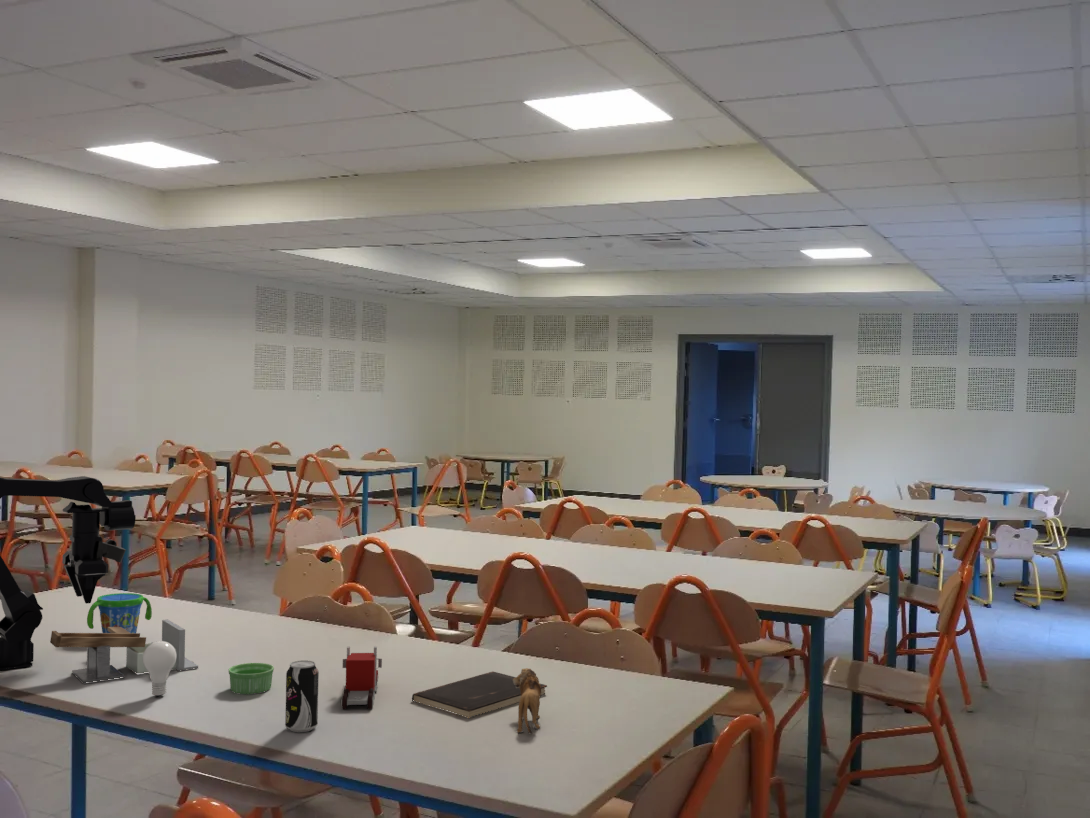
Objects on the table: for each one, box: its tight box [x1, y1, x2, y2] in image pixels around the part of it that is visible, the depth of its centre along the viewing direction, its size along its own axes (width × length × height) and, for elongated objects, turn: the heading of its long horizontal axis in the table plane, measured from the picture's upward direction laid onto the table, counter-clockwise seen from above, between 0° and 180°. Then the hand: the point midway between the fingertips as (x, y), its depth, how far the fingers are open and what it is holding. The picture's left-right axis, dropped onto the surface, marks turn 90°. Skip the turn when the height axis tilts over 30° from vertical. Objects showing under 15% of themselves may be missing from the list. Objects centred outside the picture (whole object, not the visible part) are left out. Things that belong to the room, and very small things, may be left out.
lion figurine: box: [513, 667, 542, 735], centre depth 190 cm, size 15×5×9 cm, turn 6°
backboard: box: [161, 619, 199, 672], centre depth 226 cm, size 4×12×9 cm, turn 38°
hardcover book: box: [411, 670, 548, 718], centre depth 205 cm, size 16×23×2 cm
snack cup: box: [86, 592, 153, 633], centre depth 248 cm, size 16×10×10 cm
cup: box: [125, 642, 176, 673], centre depth 222 cm, size 8×8×4 cm
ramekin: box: [228, 662, 275, 695], centre depth 208 cm, size 9×9×4 cm
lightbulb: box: [143, 640, 177, 697], centre depth 201 cm, size 6×6×11 cm
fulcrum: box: [71, 645, 125, 684], centre depth 215 cm, size 8×10×7 cm
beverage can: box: [284, 660, 320, 733], centre depth 184 cm, size 6×6×12 cm
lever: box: [49, 627, 147, 648], centre depth 220 cm, size 18×19×3 cm
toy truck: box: [340, 645, 383, 711], centre depth 205 cm, size 8×19×10 cm, turn 6°
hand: (83, 599), depth 231 cm, fingers open, 9 cm apart
